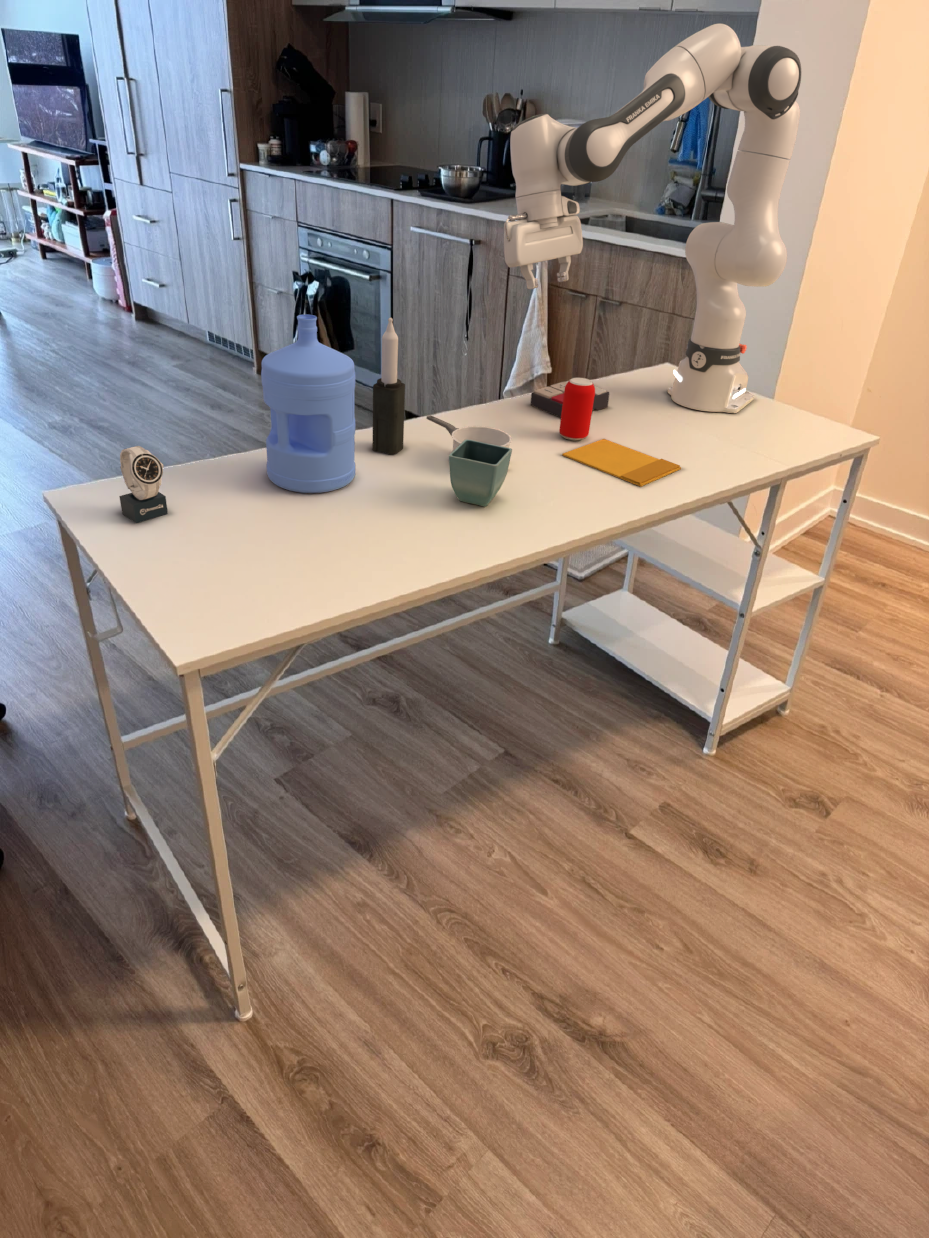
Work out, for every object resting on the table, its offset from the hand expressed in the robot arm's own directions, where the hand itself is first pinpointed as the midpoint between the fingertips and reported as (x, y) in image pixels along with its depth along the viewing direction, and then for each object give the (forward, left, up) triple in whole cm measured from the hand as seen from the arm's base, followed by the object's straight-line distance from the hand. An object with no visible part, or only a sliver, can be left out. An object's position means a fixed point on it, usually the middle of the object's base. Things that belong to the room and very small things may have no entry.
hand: (548, 285), depth 174 cm
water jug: (+58, -3, -28) cm, 64 cm away
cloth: (+5, +27, -28) cm, 39 cm away
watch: (+88, -7, -28) cm, 93 cm away
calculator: (-13, 0, -28) cm, 31 cm away
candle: (+38, -5, -28) cm, 47 cm away
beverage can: (+2, +13, -28) cm, 31 cm away
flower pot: (+41, +22, -28) cm, 54 cm away
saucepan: (+29, +7, -28) cm, 41 cm away
